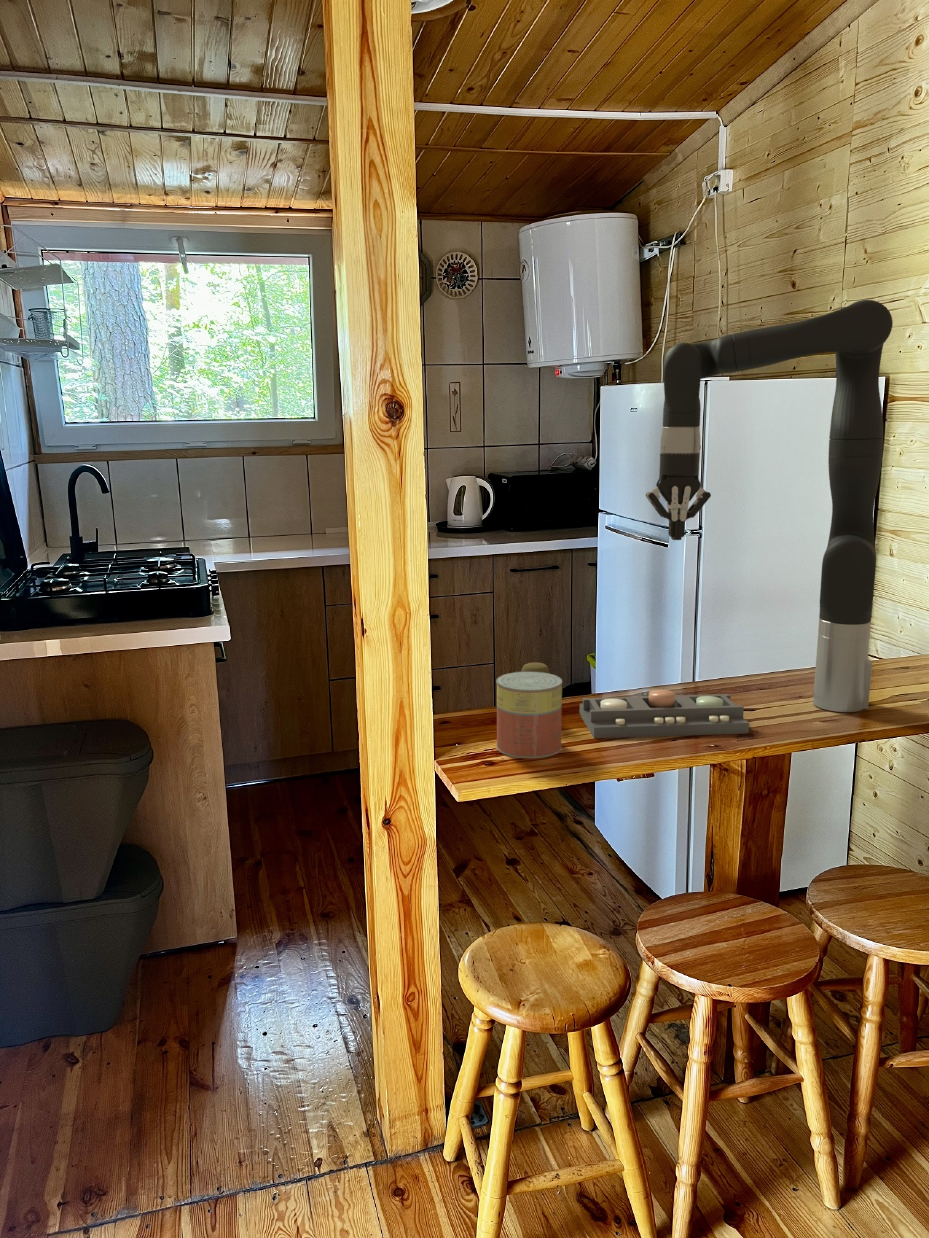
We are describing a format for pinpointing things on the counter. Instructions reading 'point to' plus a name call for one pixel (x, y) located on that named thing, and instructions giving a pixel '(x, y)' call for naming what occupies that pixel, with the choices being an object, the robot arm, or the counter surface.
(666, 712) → the console
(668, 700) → the button three
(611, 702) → the button one
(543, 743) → the canned food
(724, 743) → the counter surface
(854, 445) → the robot arm
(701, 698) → the button two
